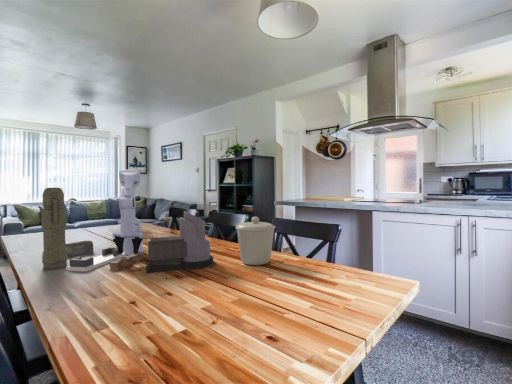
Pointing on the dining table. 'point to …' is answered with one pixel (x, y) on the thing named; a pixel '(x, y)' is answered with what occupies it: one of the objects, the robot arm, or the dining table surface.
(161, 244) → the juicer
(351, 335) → the dining table surface
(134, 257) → the walnut slat
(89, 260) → the end cap cradle
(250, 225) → the canister
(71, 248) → the dark grey stone block
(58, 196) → the olive stone pillar
